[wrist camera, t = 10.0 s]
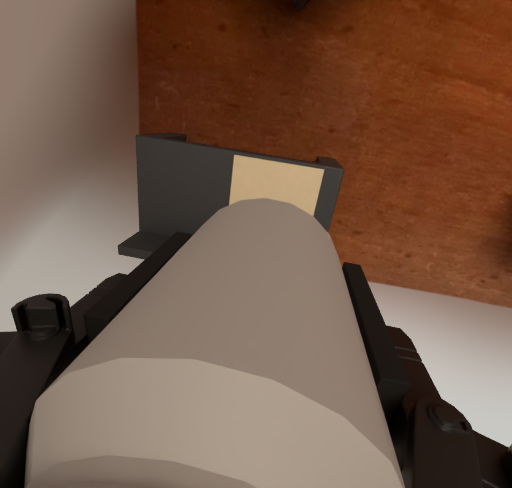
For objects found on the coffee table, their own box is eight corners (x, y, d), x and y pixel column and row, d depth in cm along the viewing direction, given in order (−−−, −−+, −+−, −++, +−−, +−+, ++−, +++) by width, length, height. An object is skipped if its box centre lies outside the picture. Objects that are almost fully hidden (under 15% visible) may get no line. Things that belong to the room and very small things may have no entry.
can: (274, 340, 17) (228, 737, 6) (172, 266, 16) (-111, 587, 5) (369, 257, 14) (624, 751, 3) (251, 160, 13) (-22, 374, 2)
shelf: (169, 217, 38) (118, 254, 27) (170, 132, 34) (109, 136, 23) (313, 243, 37) (319, 294, 26) (334, 158, 32) (352, 177, 21)
